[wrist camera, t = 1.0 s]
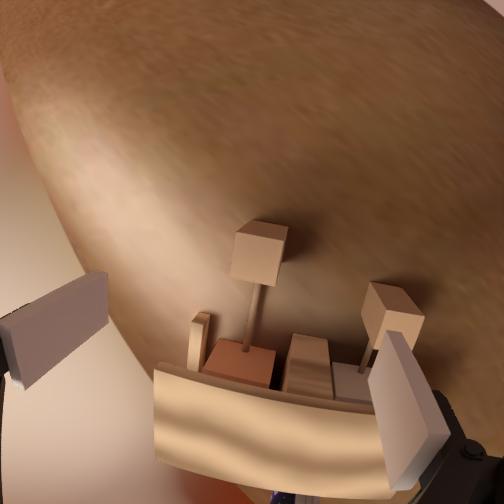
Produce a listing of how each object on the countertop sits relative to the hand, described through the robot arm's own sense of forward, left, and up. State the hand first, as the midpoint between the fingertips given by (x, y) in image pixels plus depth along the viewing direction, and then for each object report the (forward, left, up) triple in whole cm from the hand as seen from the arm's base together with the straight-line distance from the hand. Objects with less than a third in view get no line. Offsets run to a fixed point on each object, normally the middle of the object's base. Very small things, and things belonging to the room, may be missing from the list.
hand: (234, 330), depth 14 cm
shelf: (+13, +5, -17) cm, 22 cm away
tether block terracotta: (+7, -1, -17) cm, 18 cm away
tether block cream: (+9, +11, -17) cm, 22 cm away
